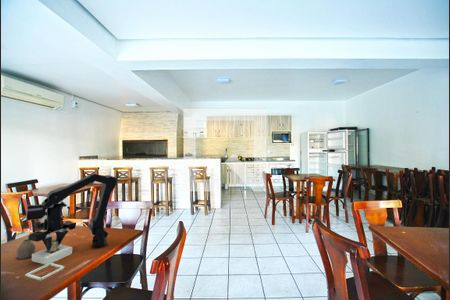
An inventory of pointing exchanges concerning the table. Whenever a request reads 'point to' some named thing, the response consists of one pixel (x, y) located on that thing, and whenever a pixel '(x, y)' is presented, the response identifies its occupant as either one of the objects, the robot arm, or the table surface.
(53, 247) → the plug
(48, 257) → the white block with recess
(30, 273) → the tray
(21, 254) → the vase
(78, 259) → the table surface
